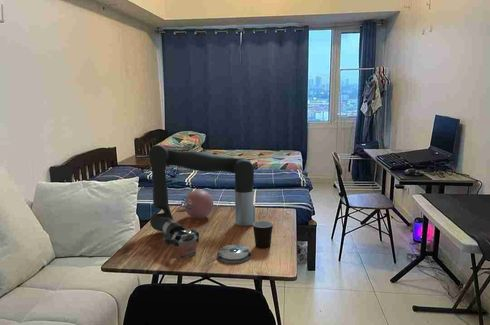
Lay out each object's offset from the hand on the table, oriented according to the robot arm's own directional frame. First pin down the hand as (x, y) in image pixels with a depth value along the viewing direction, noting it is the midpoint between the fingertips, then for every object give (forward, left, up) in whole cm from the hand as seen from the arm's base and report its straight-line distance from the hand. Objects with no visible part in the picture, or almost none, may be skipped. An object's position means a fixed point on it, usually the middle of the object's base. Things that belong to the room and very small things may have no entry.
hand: (187, 242), depth 153 cm
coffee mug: (-33, +7, -6) cm, 34 cm away
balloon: (-22, -42, -6) cm, 48 cm away
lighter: (0, -1, -6) cm, 6 cm away
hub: (-16, +10, -6) cm, 20 cm away
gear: (-27, -62, -6) cm, 68 cm away
